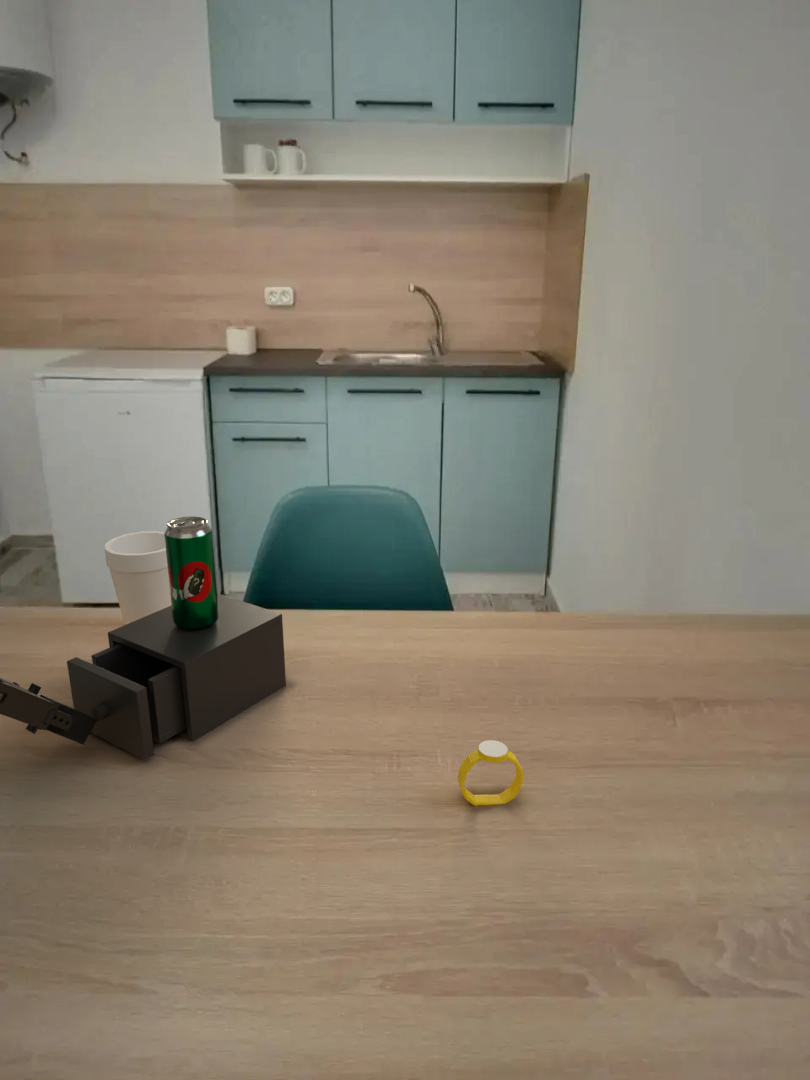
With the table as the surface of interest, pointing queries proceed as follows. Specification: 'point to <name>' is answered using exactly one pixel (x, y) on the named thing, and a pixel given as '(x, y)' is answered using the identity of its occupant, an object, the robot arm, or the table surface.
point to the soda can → (191, 573)
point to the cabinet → (215, 659)
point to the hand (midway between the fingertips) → (85, 729)
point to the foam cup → (139, 573)
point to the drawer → (129, 697)
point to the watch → (493, 754)
